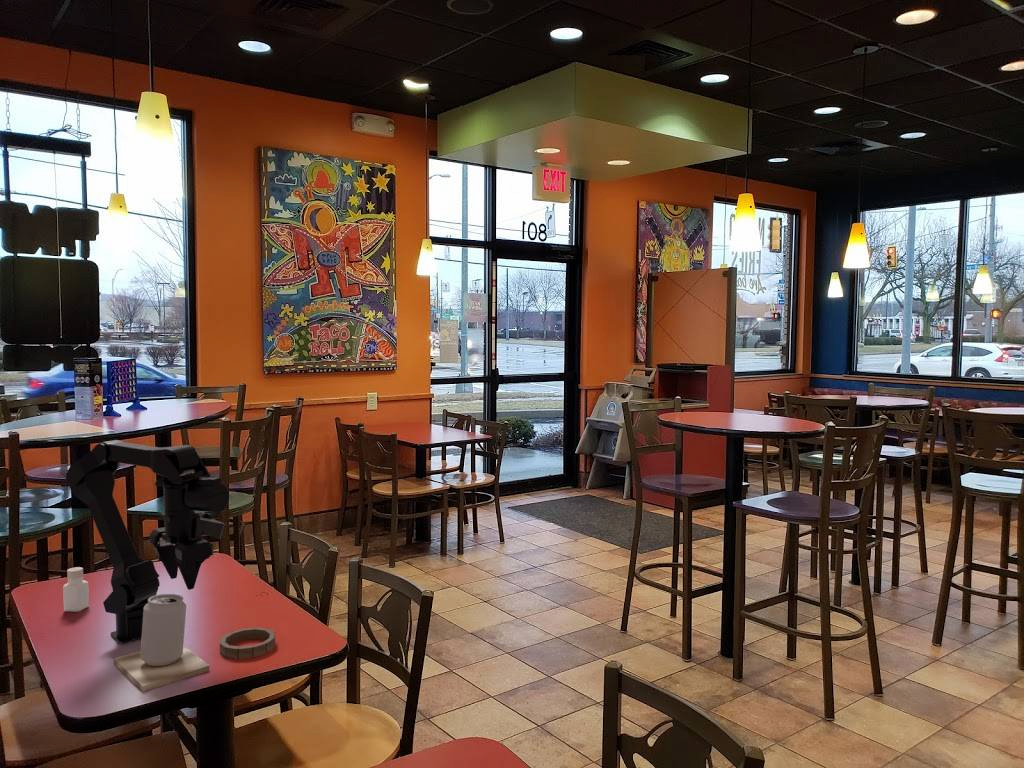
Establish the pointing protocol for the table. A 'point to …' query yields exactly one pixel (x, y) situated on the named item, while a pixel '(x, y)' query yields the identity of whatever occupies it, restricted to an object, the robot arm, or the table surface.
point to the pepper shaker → (75, 591)
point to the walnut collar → (247, 650)
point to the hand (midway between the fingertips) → (182, 583)
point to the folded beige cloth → (160, 669)
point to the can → (163, 629)
